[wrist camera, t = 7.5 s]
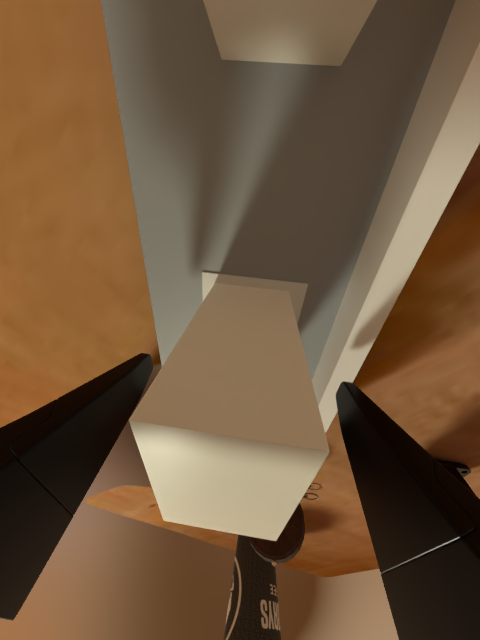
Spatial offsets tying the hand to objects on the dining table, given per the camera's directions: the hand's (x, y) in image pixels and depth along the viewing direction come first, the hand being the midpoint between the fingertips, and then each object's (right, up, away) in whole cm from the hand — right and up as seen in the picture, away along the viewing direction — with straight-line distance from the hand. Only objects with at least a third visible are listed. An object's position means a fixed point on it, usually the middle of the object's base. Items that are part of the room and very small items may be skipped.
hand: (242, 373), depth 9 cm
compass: (+6, -18, +16) cm, 25 cm away
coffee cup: (+3, -38, +28) cm, 48 cm away
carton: (0, +2, +3) cm, 3 cm away
